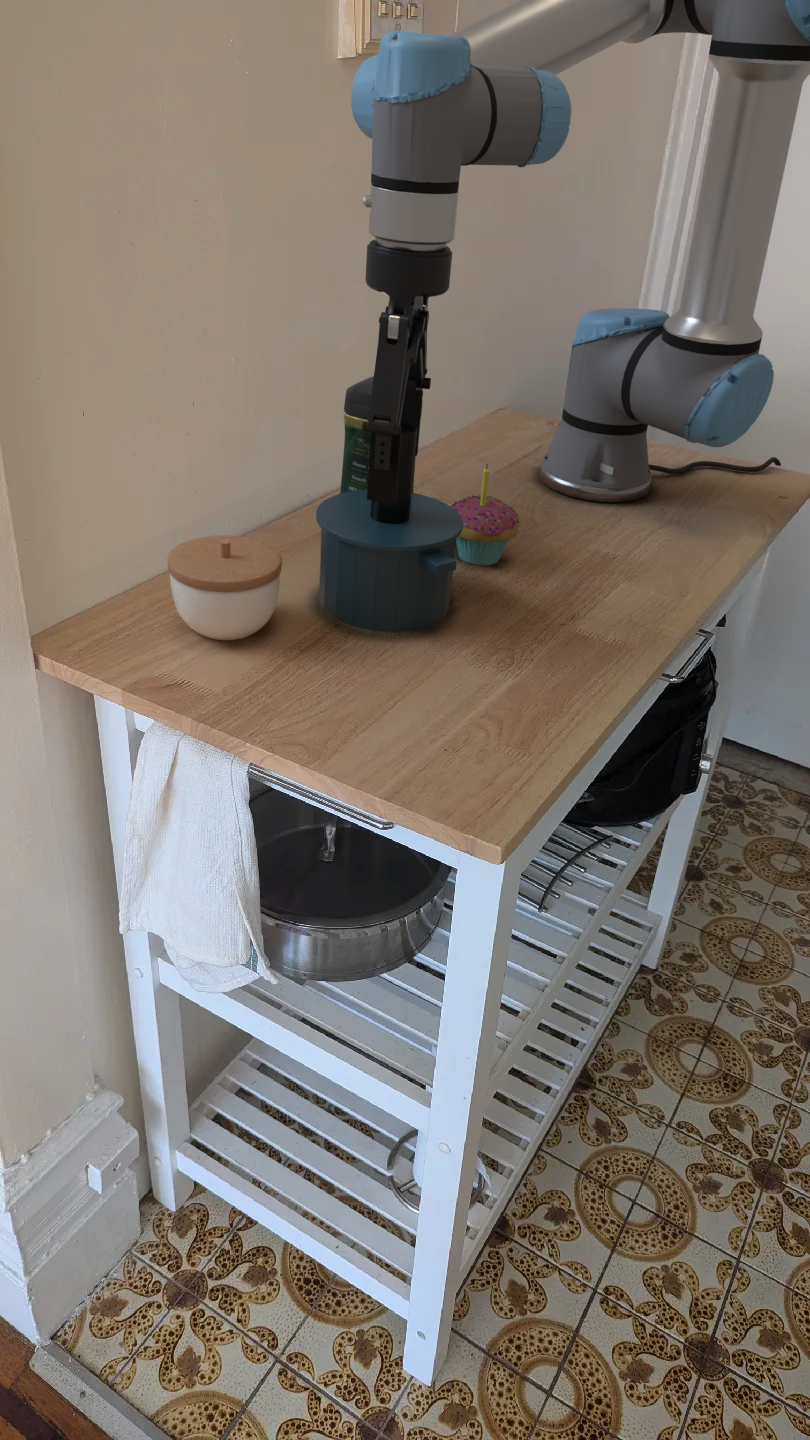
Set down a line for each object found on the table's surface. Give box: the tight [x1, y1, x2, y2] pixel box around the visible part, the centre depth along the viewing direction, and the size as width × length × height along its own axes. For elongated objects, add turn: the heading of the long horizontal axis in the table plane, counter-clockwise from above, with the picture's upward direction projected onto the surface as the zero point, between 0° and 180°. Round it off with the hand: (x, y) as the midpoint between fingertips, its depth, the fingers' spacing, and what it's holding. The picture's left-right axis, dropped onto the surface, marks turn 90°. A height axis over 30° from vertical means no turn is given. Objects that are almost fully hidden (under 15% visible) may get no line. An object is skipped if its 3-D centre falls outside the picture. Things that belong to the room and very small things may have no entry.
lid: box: [315, 422, 463, 551], centre depth 104 cm, size 15×15×10 cm
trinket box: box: [167, 534, 283, 641], centre depth 102 cm, size 11×11×9 cm
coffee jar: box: [339, 375, 424, 494], centre depth 123 cm, size 10×8×19 cm
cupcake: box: [450, 462, 520, 566], centre depth 121 cm, size 9×8×12 cm
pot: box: [318, 496, 458, 633], centre depth 109 cm, size 14×19×10 cm
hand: (393, 475), depth 104 cm, fingers open, 13 cm apart
